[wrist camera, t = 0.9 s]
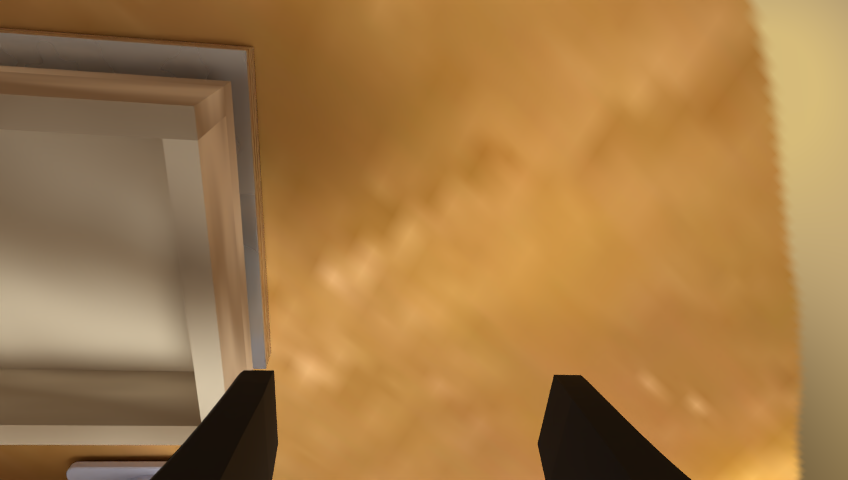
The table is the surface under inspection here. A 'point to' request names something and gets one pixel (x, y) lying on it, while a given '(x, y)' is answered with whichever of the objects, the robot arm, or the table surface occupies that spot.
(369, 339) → the table surface
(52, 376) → the brown open box
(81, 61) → the rail board
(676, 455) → the table surface
